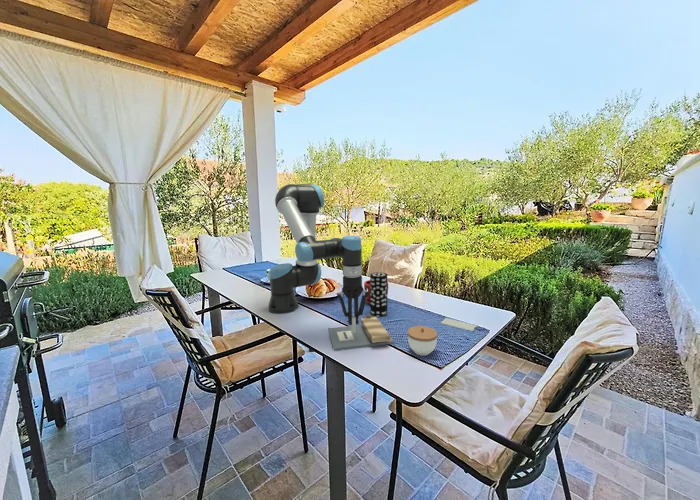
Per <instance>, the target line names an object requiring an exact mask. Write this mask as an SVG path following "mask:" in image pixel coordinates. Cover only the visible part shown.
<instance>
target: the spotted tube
mask: <svg viewBox="0 0 700 500" xmlns="http://www.w3.org/2000/svg"><path fill="white" fill-rule="evenodd" d="M369 276H370V278H369V280H370V303H371V305H370V315H371V316H373V317H377V318H380V317H386V316H387V315H388V294H387V282H388V274H387V273H386V272H373V273H370V275H369Z"/></svg>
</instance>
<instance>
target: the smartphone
mask: <svg viewBox="0 0 700 500" xmlns="http://www.w3.org/2000/svg"><path fill="white" fill-rule="evenodd" d="M439 323H440V324H441V325H445V326H449V327H453V328H456V327H457V329H460V330H463V329H464V331H467V330H469V331H468V332H471V331H474V330H475V329H476V328H477V329H478V327H479V325H478V324H474V323H470V322H466V321H461V320H458V319H457V320H456V319H452V318H449V317H444V318H443V319H442V320H441V321H440V322H439ZM477 329H476V330H477ZM476 330H475V331H476ZM475 331H474V332H475Z"/></svg>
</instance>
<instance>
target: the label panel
mask: <svg viewBox="0 0 700 500" xmlns="http://www.w3.org/2000/svg"><path fill="white" fill-rule="evenodd" d="M382 326H383V327H384V328H385V326H384V325H383V324H382ZM385 330H386V331H387V329H386V328H385ZM387 332H388V331H387ZM328 334H329V338H330V341H331V344H332V348H333V351H334V350H336V351H343V349H344V350H351V349H361V348H370V347H377V346H385V345H392V344H395V340H394V339H393V338H392V336H391V335H390V333H389V332H388V334H389V335H390V341H384V342H375V343H372V341H371V339H370V338H369V336H368V334H367V332H366V331H365V329H364V327H363V325H362V324H356V333H352V331H351V325H348V326H347V325H346V326H338V327H328Z"/></svg>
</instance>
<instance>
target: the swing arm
mask: <svg viewBox="0 0 700 500" xmlns="http://www.w3.org/2000/svg"><path fill="white" fill-rule="evenodd" d="M360 325H363V327H364V329H365V331H366V332H367V334H368V336H369V338H370V339H371V341H372V343H375V342H384V341H390V336H391V334H390V333H389V332H388V331H386V330H387V329H386V328H385V326H384V325H383V324H382V322H380V320H379V318H378V317H376V316H373V315H371V313H368V314H366V315H364V316H363V317H361V318H360ZM382 325H383V326H384V327H383V326H382ZM385 329H386V330H385ZM388 333H389V334H388Z"/></svg>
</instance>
